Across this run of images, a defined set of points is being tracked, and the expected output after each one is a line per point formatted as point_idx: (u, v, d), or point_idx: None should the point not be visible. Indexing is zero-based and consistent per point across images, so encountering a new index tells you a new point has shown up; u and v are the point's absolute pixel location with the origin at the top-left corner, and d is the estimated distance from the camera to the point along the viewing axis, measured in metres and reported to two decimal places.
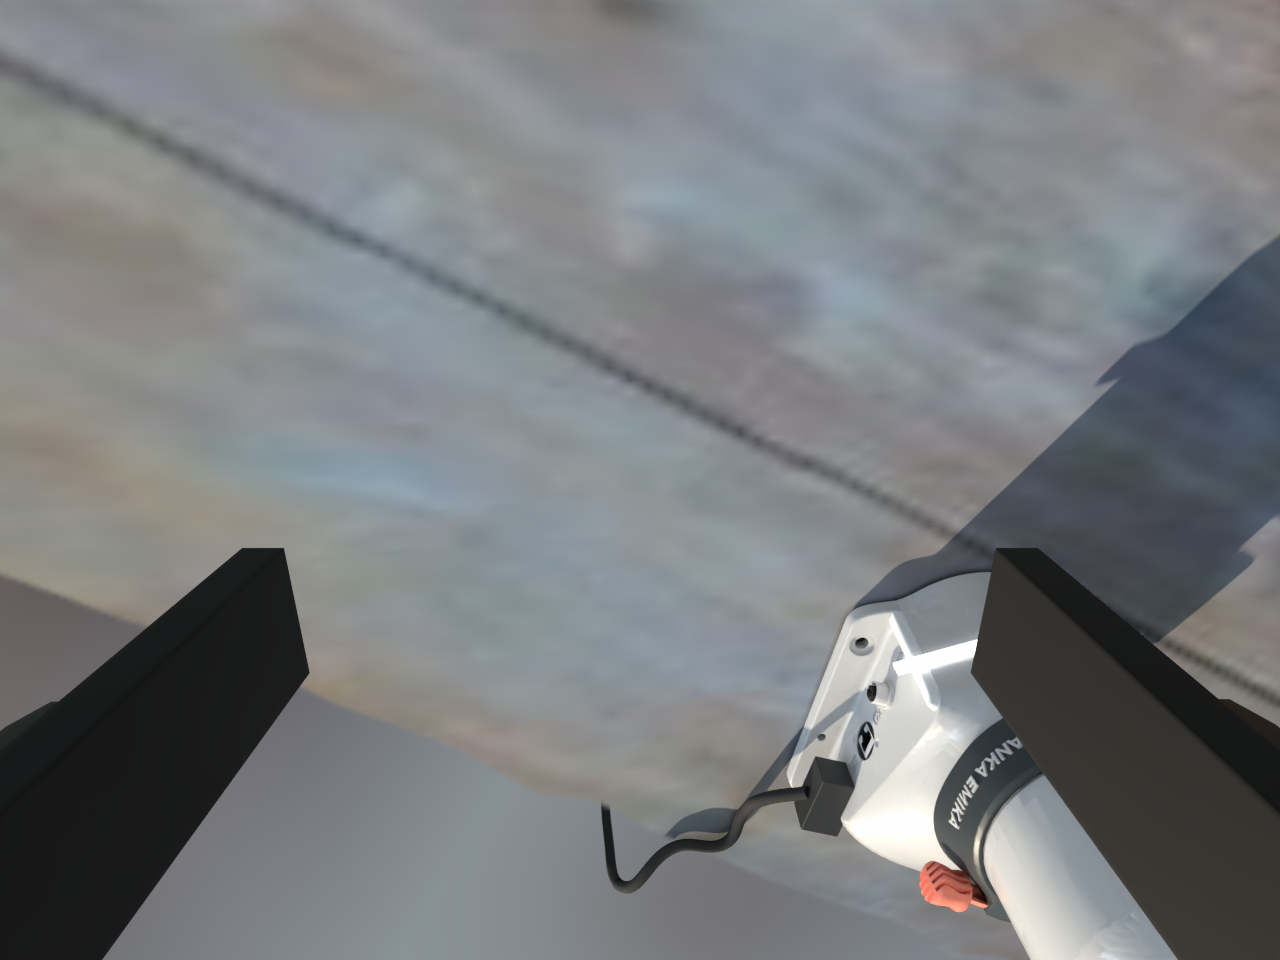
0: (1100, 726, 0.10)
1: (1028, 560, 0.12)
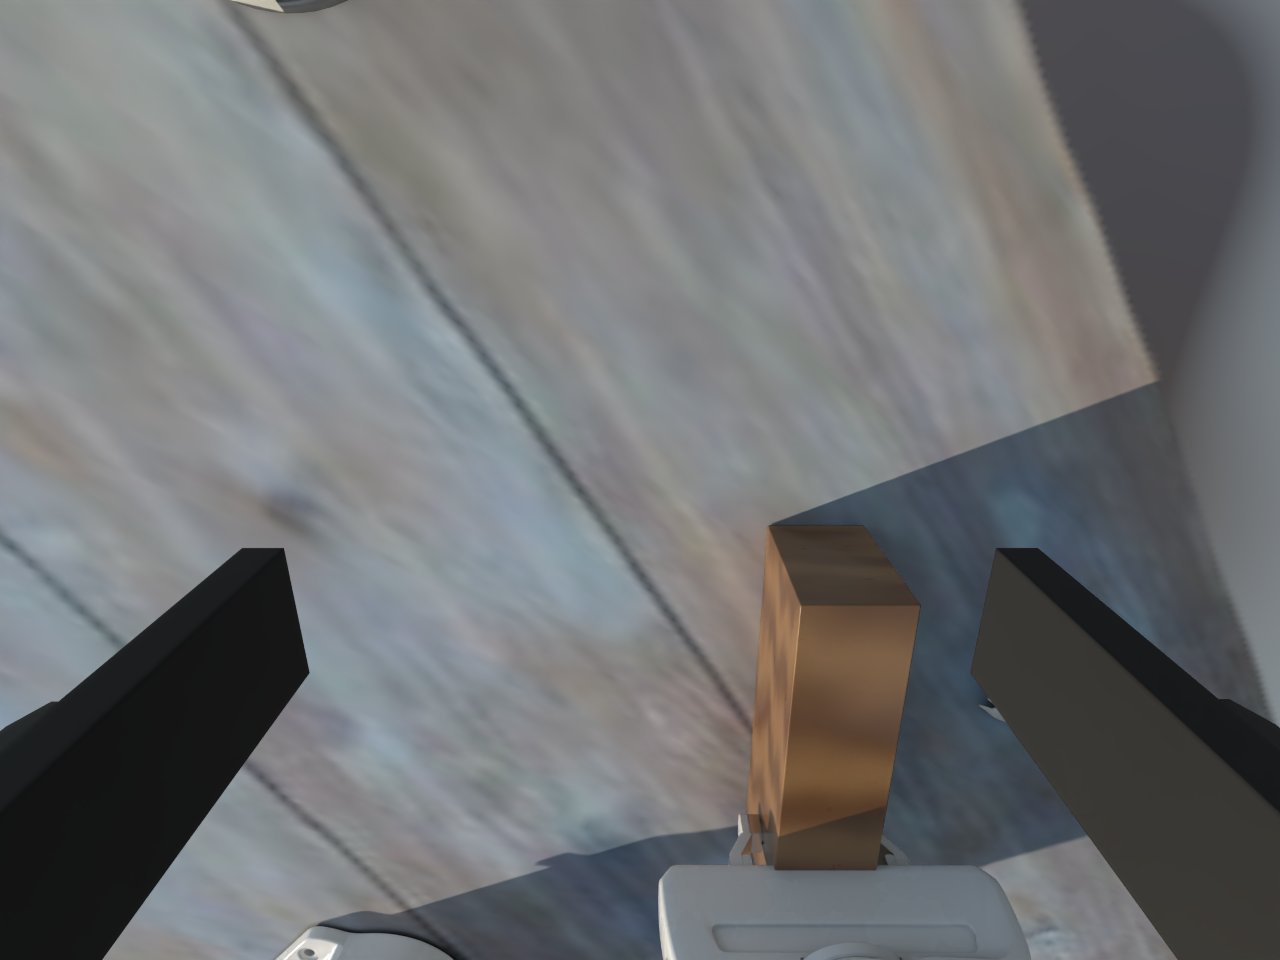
0: (1100, 726, 0.10)
1: (1028, 560, 0.12)
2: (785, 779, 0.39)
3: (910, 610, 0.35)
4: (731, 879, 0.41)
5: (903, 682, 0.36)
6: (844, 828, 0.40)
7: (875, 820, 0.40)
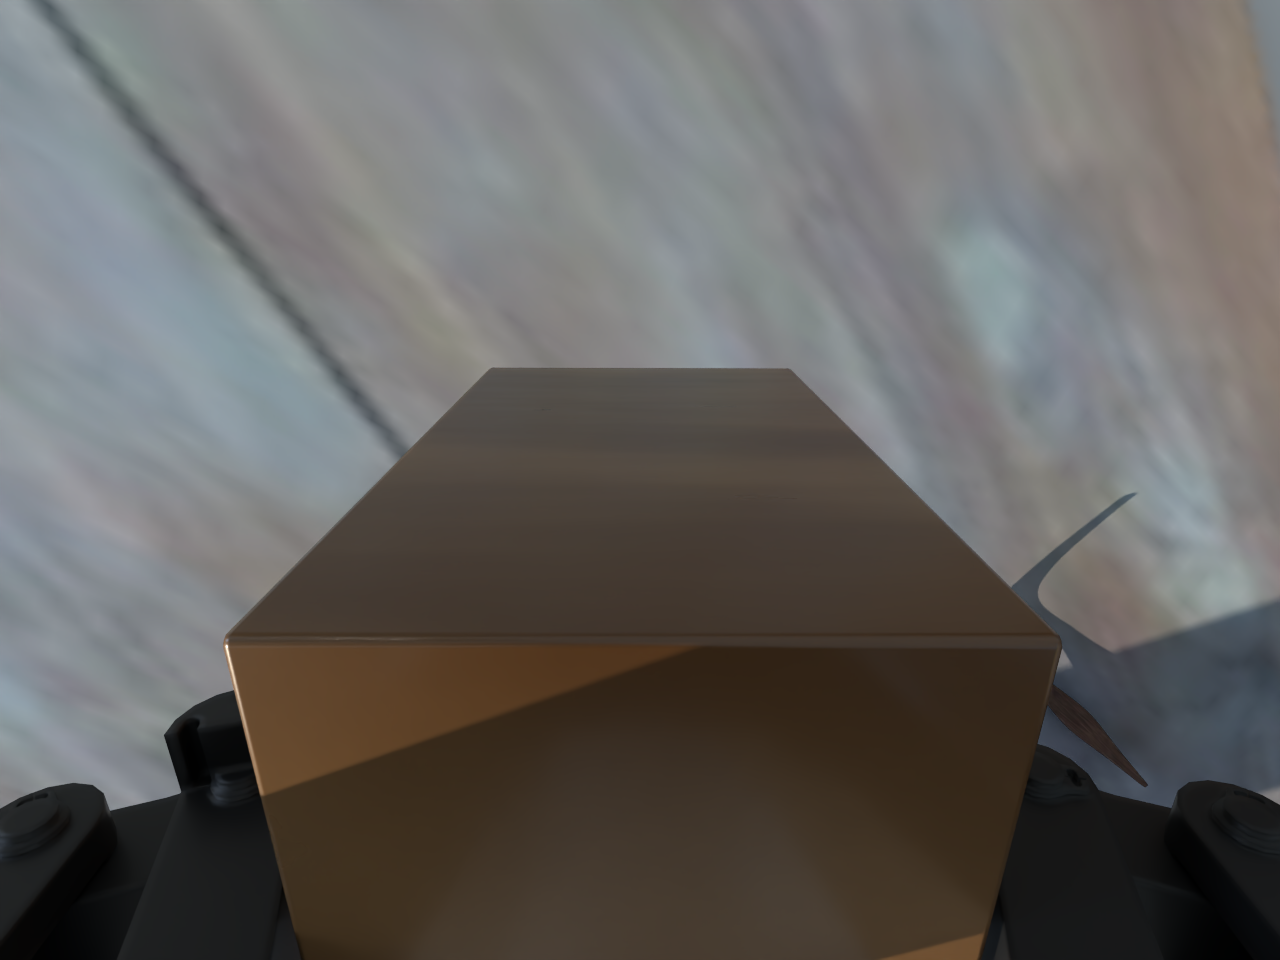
0: None
1: None
2: None
3: (988, 675, 0.05)
4: None
5: None
6: None
7: None
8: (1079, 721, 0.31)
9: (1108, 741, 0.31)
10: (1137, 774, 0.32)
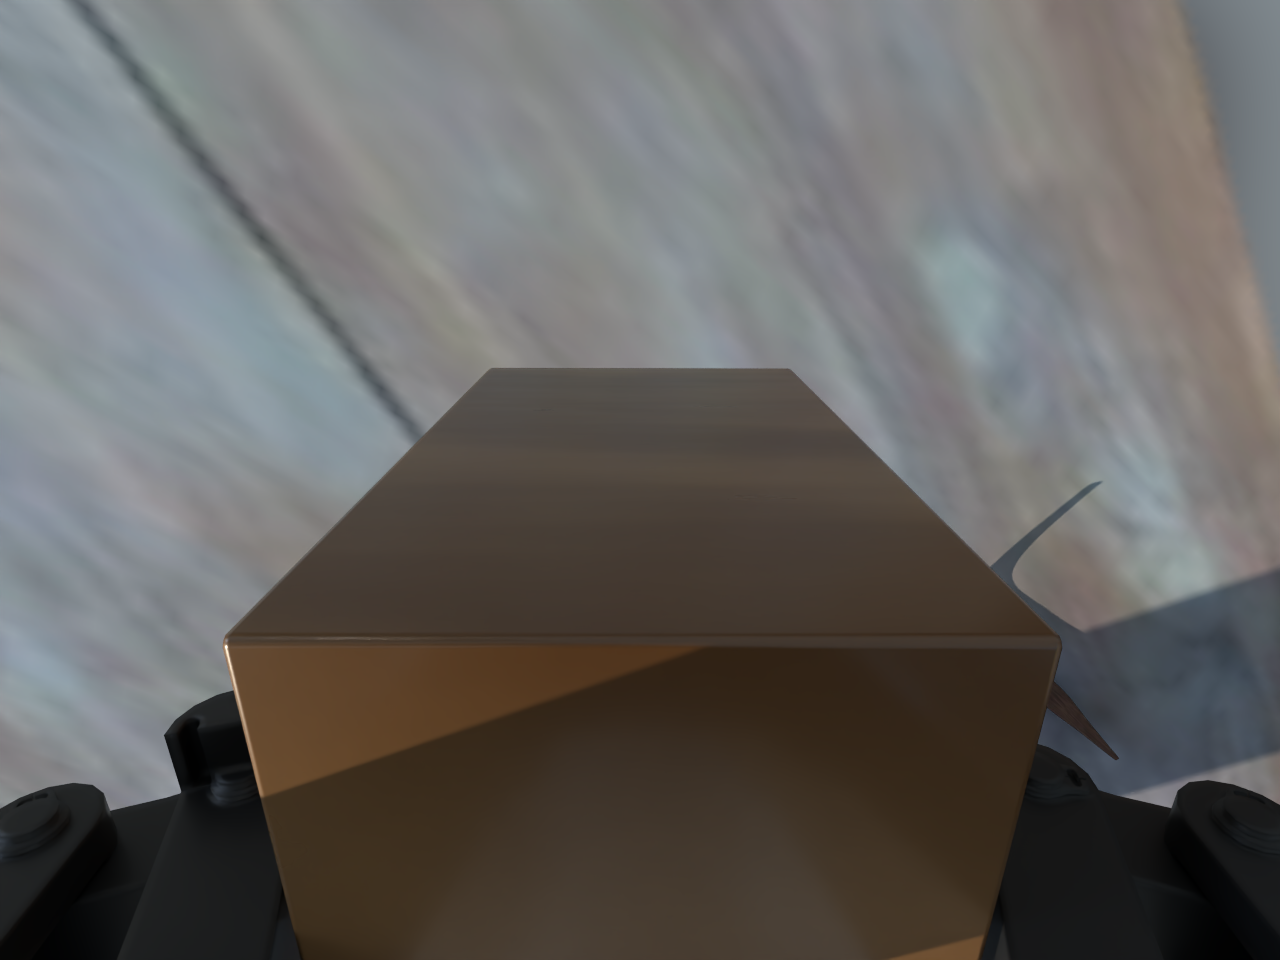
0: None
1: None
2: None
3: (989, 675, 0.05)
4: None
5: None
6: None
7: None
8: (1052, 696, 0.33)
9: (1080, 715, 0.33)
10: (1108, 747, 0.34)
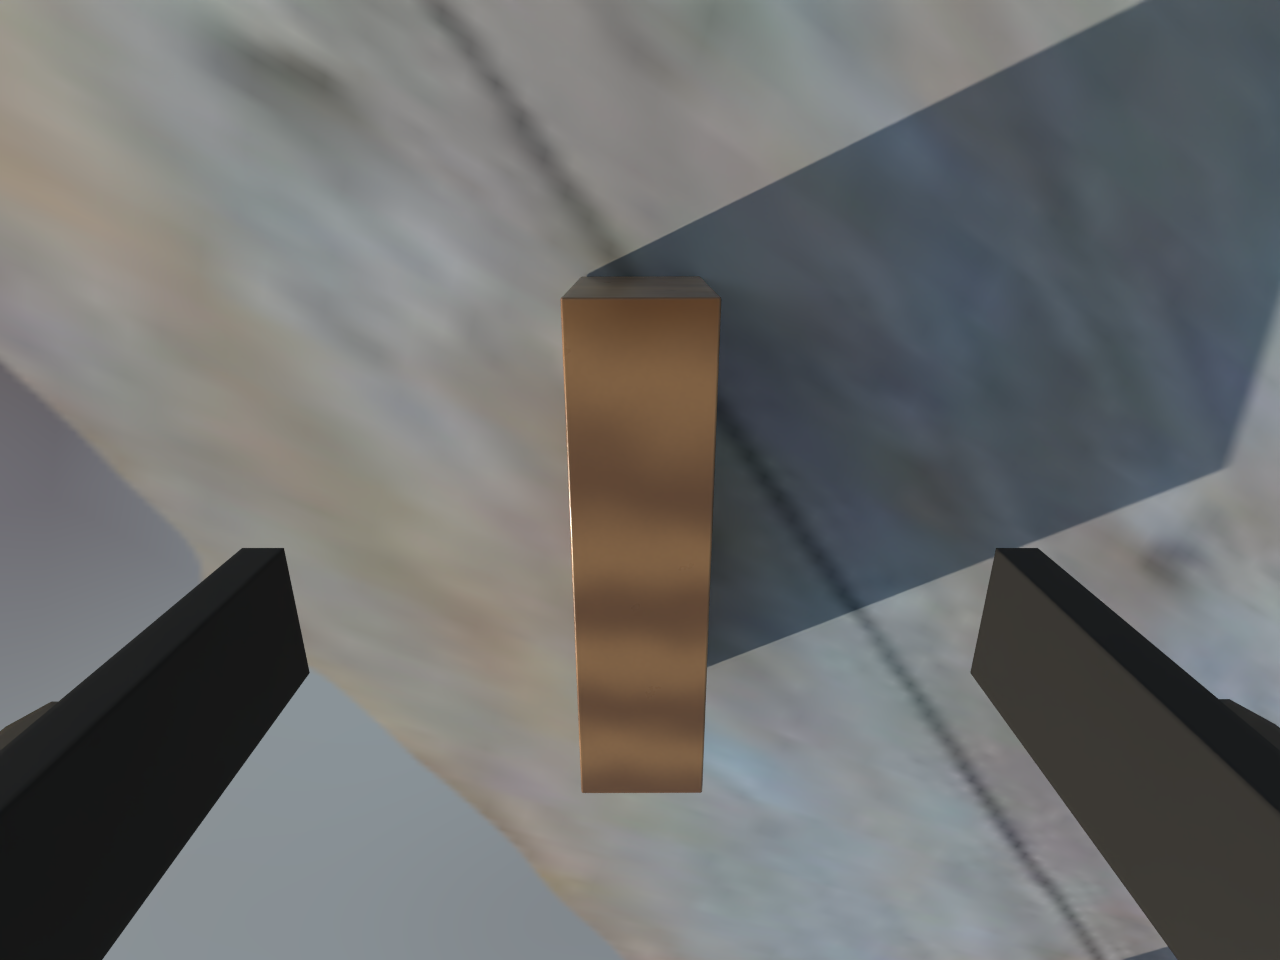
0: (1100, 726, 0.10)
1: (1028, 560, 0.12)
2: (574, 563, 0.30)
3: (707, 305, 0.26)
4: None
5: (710, 417, 0.28)
6: (657, 634, 0.31)
7: (696, 622, 0.31)
8: None
9: None
10: None
